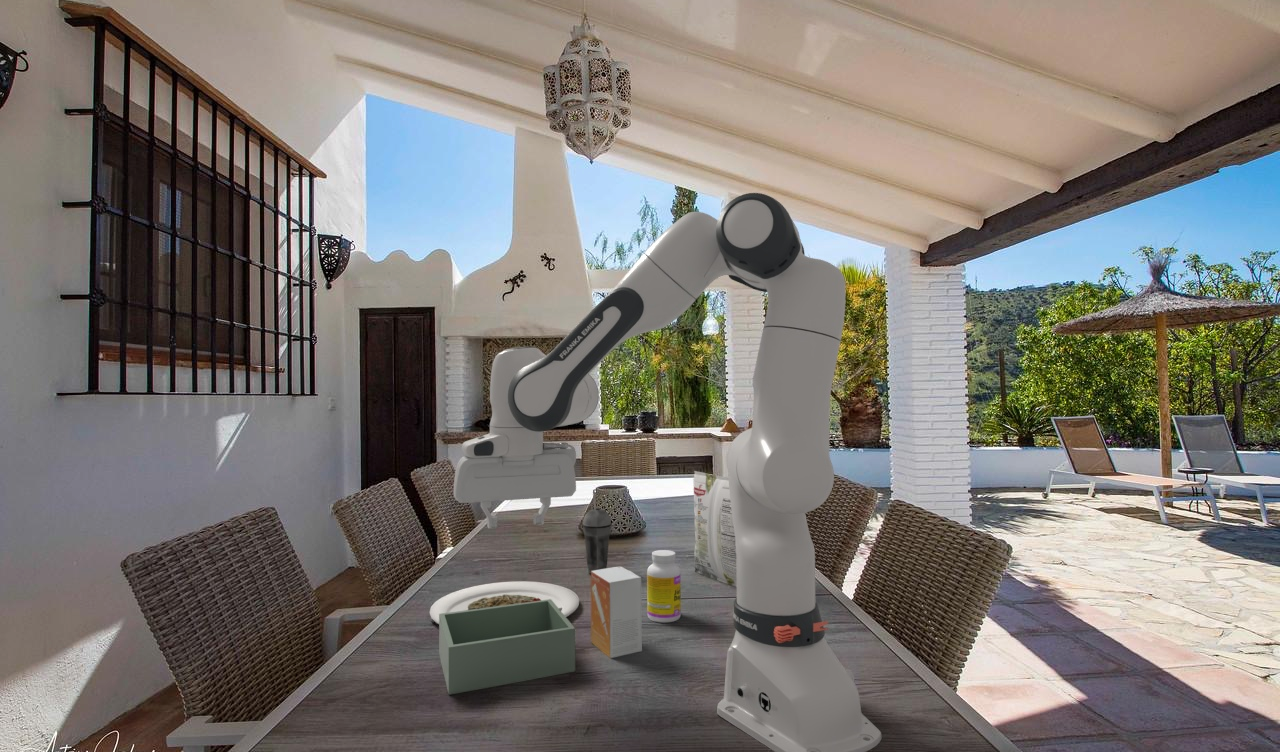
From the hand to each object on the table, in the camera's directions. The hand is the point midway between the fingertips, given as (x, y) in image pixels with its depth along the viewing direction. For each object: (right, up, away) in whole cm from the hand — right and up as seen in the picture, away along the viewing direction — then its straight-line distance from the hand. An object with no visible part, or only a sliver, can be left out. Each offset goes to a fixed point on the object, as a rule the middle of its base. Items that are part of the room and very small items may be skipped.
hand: (515, 526), depth 109 cm
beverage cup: (+10, -24, +52) cm, 58 cm away
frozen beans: (+40, -23, +43) cm, 63 cm away
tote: (-2, -23, -1) cm, 23 cm away
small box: (+17, -23, +5) cm, 29 cm away
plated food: (-7, -24, +25) cm, 35 cm away
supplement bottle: (+26, -23, +20) cm, 40 cm away
